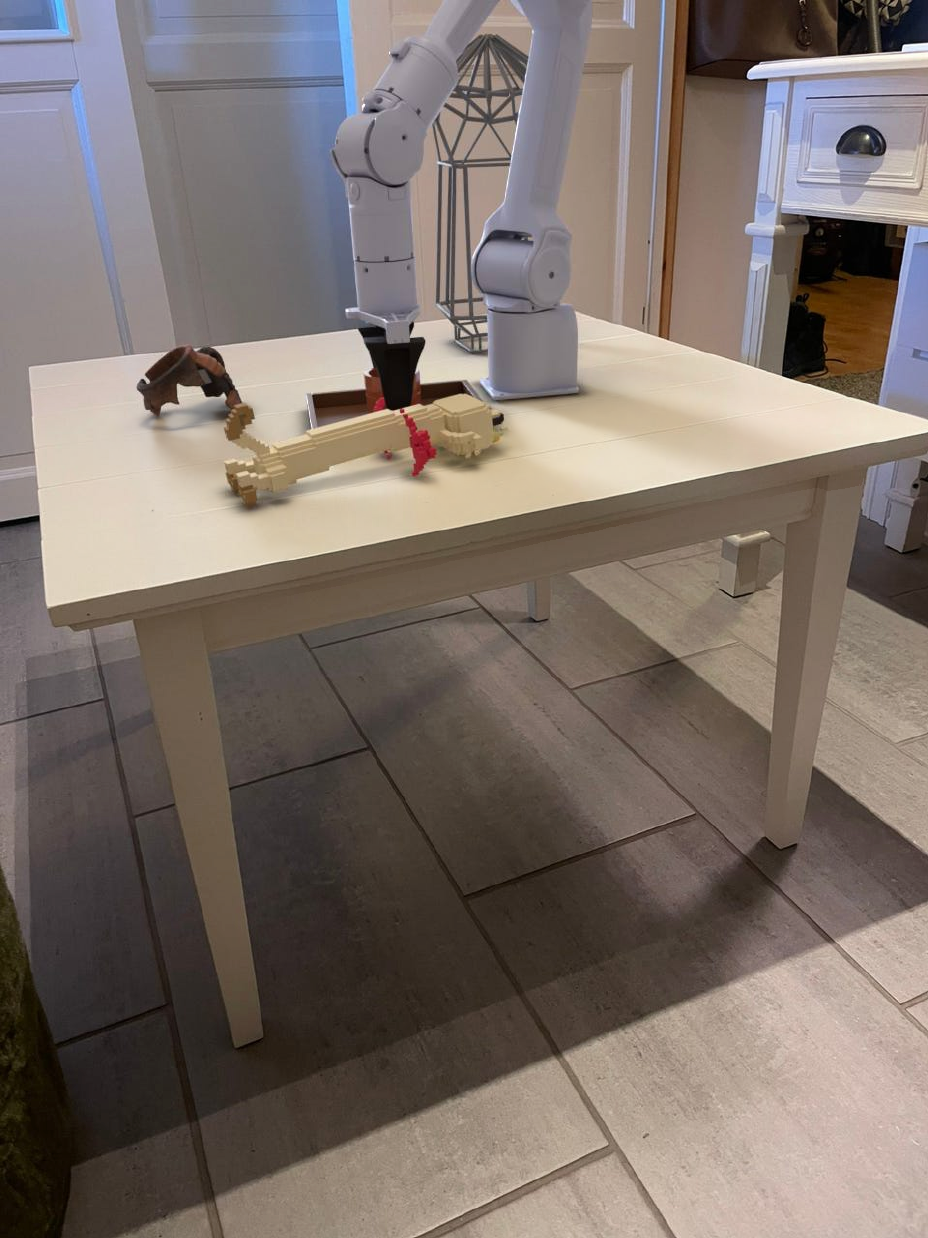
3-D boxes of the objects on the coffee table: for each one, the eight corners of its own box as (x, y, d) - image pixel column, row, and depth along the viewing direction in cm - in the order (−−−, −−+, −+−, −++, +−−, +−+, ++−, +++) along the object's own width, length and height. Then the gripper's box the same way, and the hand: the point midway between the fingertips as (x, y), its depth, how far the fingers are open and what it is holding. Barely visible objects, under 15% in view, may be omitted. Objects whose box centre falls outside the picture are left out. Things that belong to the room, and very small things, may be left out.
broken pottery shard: (239, 431, 96) (185, 366, 91) (171, 467, 99) (115, 407, 94) (264, 372, 104) (216, 310, 99) (200, 407, 108) (150, 349, 103)
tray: (467, 397, 102) (466, 379, 101) (493, 433, 90) (493, 412, 89) (308, 412, 99) (305, 393, 98) (314, 450, 88) (311, 429, 87)
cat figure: (259, 533, 74) (531, 450, 82) (233, 426, 69) (523, 351, 78) (226, 494, 82) (477, 423, 90) (201, 397, 77) (467, 331, 86)
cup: (417, 406, 97) (414, 362, 95) (425, 421, 92) (422, 375, 90) (365, 411, 96) (361, 367, 94) (370, 426, 91) (367, 380, 89)
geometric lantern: (423, 338, 129) (406, 40, 112) (531, 327, 132) (531, 36, 116) (451, 363, 116) (436, 29, 99) (571, 351, 119) (576, 26, 102)
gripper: (335, 251, 93) (348, 387, 99) (347, 271, 80) (361, 426, 87) (406, 246, 94) (414, 381, 100) (428, 266, 81) (436, 419, 88)
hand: (394, 402), depth 94 cm, fingers closed on cup, 5 cm apart
